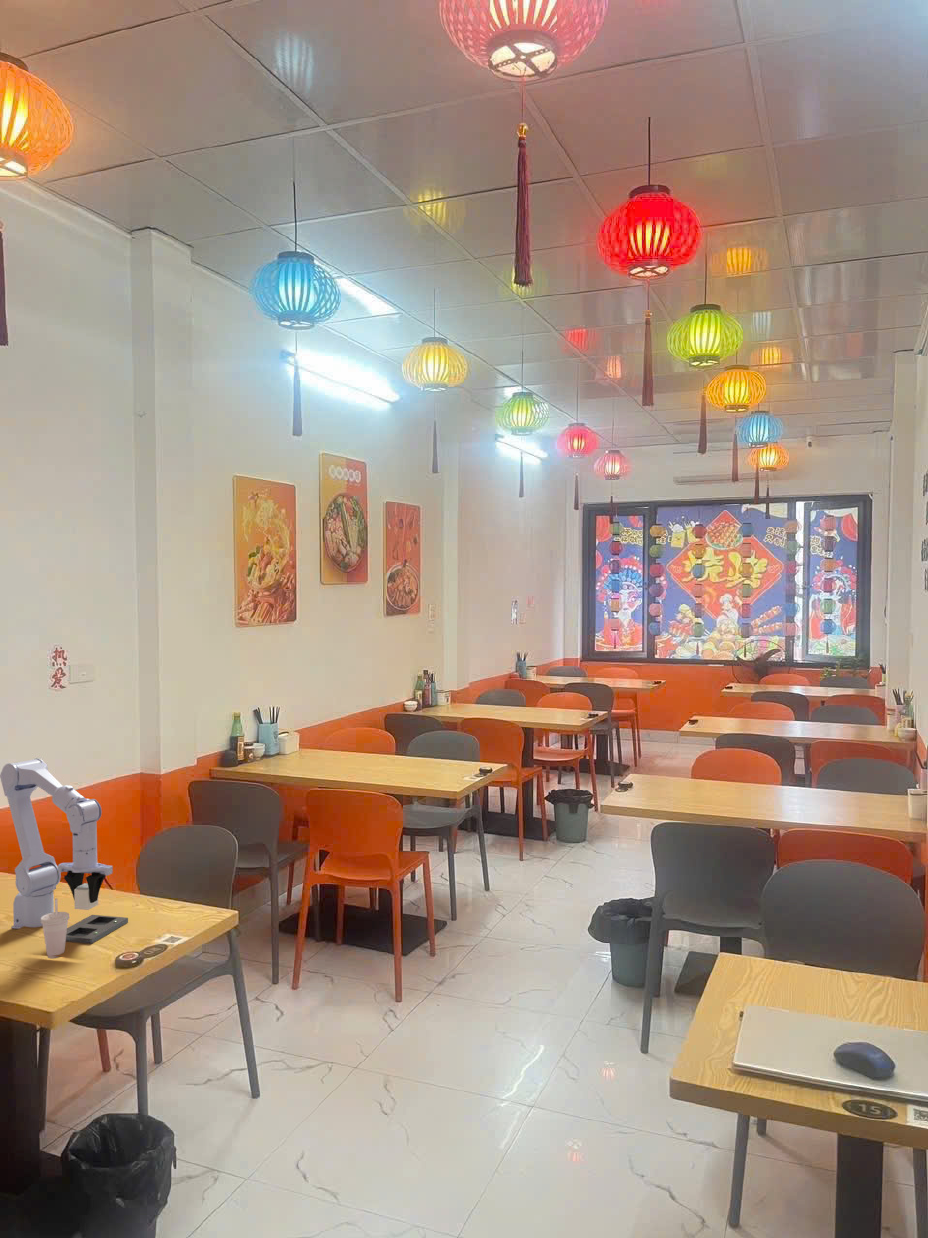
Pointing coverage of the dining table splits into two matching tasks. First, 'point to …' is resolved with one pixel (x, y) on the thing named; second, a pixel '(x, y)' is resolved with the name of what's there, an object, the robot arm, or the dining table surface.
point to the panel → (93, 928)
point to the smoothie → (55, 931)
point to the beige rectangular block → (83, 898)
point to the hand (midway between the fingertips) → (85, 901)
